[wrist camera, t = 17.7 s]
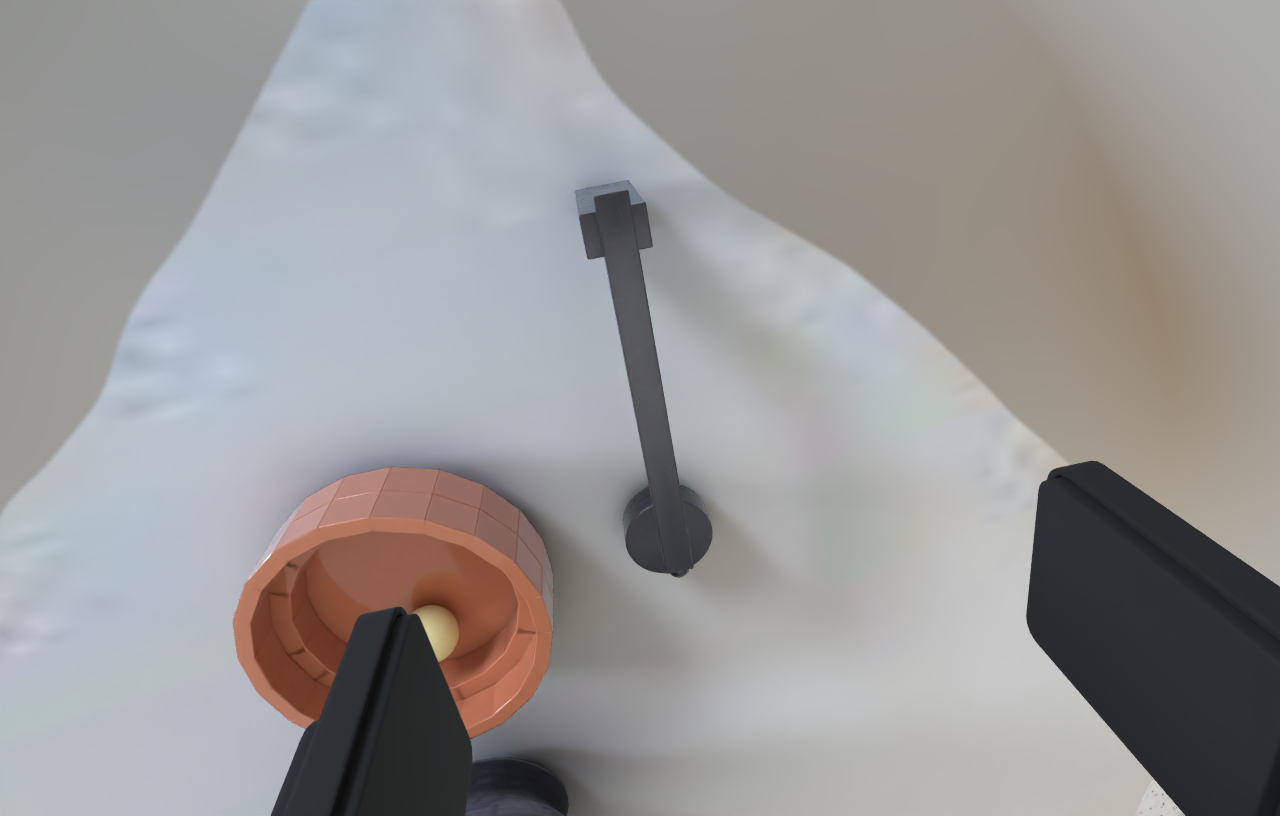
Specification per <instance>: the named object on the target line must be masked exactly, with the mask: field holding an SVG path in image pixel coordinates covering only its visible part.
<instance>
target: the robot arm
mask: <svg viewBox="0 0 1280 816" xmlns="http://www.w3.org/2000/svg"><path fill="white" fill-rule="evenodd" d="M1026 618H1027V624H1028V628H1029V630H1030V633H1031V635H1032V636H1033V638H1034V640H1035V641H1036V642H1037V644H1038V645H1039V646H1040V647H1041V648H1042V649H1043V650H1044V652H1045V653H1046V654H1047V655H1048V656H1049V657H1050V659H1051V660H1052V661H1053V662H1054V663H1055V664H1056V666H1057V667H1058V668H1059V669H1060V670H1061V671H1062V673H1063V674H1064V675H1065V676H1066V677H1067V678H1068V680H1069V681H1070V682H1071V683H1072V684H1073V685H1074V687H1075V688H1076V689H1077V690H1078V691H1079V692H1080V693H1081V695H1082V696H1083V697H1084V698H1085V699H1086V700H1087V702H1088V703H1089V704H1090V705H1091V706H1092V707H1093V709H1094V710H1095V711H1096V712H1097V713H1098V714H1099V716H1100V717H1101V718H1102V719H1103V720H1104V721H1105V723H1106V724H1107V725H1108V726H1109V727H1110V728H1111V730H1112V731H1113V732H1114V733H1115V734H1116V735H1117V736H1118V738H1119V739H1120V740H1121V741H1122V742H1123V743H1124V745H1125V746H1126V747H1127V748H1128V749H1129V750H1130V752H1131V753H1132V754H1133V755H1134V756H1135V757H1136V759H1137V760H1138V761H1139V762H1140V763H1141V764H1142V766H1143V767H1144V768H1145V769H1146V770H1147V771H1148V773H1149V774H1150V775H1151V776H1152V777H1153V778H1154V779H1155V781H1156V782H1157V783H1158V784H1159V785H1160V786H1161V788H1162V789H1163V790H1164V791H1165V792H1166V793H1167V795H1168V796H1169V797H1170V798H1171V799H1172V800H1173V802H1174V803H1175V804H1176V805H1177V806H1178V807H1179V809H1180V810H1181V811H1182V812H1183V813H1184V814H1185V816H1280V587H1279V586H1278V585H1277V584H1275V583H1273V582H1272V581H1271V580H1269V579H1268V578H1266V577H1265V576H1264V575H1262V574H1261V573H1259V572H1258V571H1256V570H1255V569H1254V568H1252V567H1251V566H1249V565H1248V564H1246V563H1245V562H1243V561H1242V560H1241V559H1239V558H1237V557H1236V556H1235V555H1233V554H1232V553H1230V552H1229V551H1228V550H1226V549H1225V548H1223V547H1222V546H1220V545H1219V544H1217V543H1216V542H1215V541H1213V540H1212V539H1210V538H1209V537H1207V536H1206V535H1204V534H1203V533H1202V532H1200V531H1199V530H1197V529H1195V528H1194V527H1193V526H1191V525H1190V524H1189V523H1187V522H1186V521H1184V520H1183V519H1181V518H1180V517H1179V516H1177V515H1176V514H1174V513H1173V512H1171V511H1170V510H1168V509H1167V508H1166V507H1164V506H1163V505H1161V504H1160V503H1158V502H1157V501H1155V500H1154V499H1153V498H1151V497H1150V496H1148V495H1147V494H1145V493H1144V492H1142V491H1141V490H1140V489H1138V488H1137V487H1135V486H1134V485H1132V484H1131V483H1129V482H1128V481H1127V480H1125V479H1124V478H1122V477H1121V476H1119V475H1118V474H1116V473H1115V472H1113V471H1112V470H1111V469H1109V468H1108V467H1106V466H1105V465H1103V464H1101V463H1099V462H1097V461H1088V462H1084V463H1078V464H1074V465H1069V466H1064V467H1059V468H1056V469H1053V470H1052V471H1051V472H1050V473H1049V475H1048V478H1047V480H1046V481H1044V482H1042V483H1041V485H1040V487H1039V492H1038V502H1037V512H1036V522H1035V533H1034V543H1033V553H1032V563H1031V573H1030V584H1029V594H1028V604H1027V614H1026ZM471 767H472V747H471V741H470V738H469V735H468V732H467V730H466V727H465V725H464V723H463V720H462V718H461V715H460V713H459V710H458V708H457V706H456V703H455V701H454V698H453V696H452V694H451V691H450V689H449V686H448V684H447V681H446V679H445V677H444V674H443V672H442V669H441V667H440V665H439V662H438V660H437V657H436V655H435V652H434V650H433V648H432V645H431V643H430V640H429V638H428V635H427V633H426V631H425V628H424V626H423V623H422V621H421V619H420V617H419V616H418V615H417V614H409V615H408V614H407V613H406V611H405V610H404V609H403V608H402V607H399V606H398V607H393V608H389V609H384V610H379V611H374V612H370V613H365V614H362V615H360V616H359V617H358V618H357V620H356V622H355V625H354V627H353V630H352V633H351V635H350V638H349V641H348V643H347V646H346V649H345V651H344V654H343V657H342V659H341V662H340V665H339V667H338V670H337V672H336V675H335V678H334V680H333V683H332V686H331V688H330V691H329V694H328V696H327V699H326V702H325V704H324V707H323V709H322V712H321V715H320V717H319V720H317V721H313V722H312V723H311V724H310V725H309V726H308V727H307V728H306V730H305V732H304V734H303V736H302V738H301V740H300V743H299V745H298V748H297V750H296V753H295V755H294V758H293V760H292V763H291V765H290V768H289V771H288V773H287V776H286V778H285V781H284V783H283V786H282V788H281V791H280V793H279V796H278V798H277V801H276V804H275V806H274V809H273V811H272V814H271V816H465V814H466V806H467V799H468V791H469V783H470V775H471Z"/></svg>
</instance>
